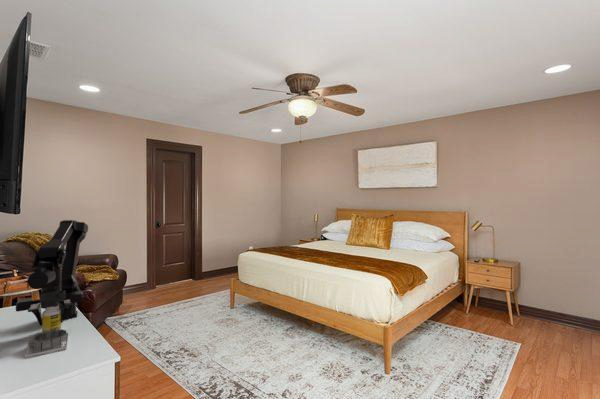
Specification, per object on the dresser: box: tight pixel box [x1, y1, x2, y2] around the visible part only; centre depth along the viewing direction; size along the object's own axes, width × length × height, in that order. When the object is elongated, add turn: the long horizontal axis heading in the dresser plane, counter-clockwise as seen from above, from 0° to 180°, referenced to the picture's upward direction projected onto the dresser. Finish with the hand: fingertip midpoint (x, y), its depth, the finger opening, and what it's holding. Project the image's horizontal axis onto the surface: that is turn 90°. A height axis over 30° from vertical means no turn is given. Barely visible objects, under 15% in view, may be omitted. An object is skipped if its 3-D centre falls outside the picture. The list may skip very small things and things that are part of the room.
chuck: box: [24, 328, 69, 359], centre depth 104 cm, size 12×10×3 cm
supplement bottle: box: [41, 305, 62, 332], centre depth 114 cm, size 5×5×10 cm
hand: (51, 324), depth 114 cm, fingers closed on supplement bottle, 5 cm apart
